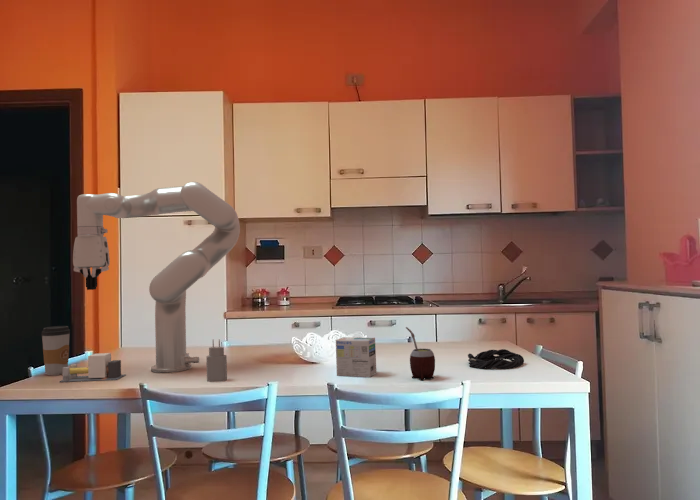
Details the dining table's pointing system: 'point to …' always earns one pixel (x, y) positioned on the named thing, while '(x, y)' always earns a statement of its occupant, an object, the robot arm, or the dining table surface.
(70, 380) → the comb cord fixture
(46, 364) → the coffee cup
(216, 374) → the power adapter
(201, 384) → the dining table surface
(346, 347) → the light bulb box
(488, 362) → the cable
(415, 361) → the mate gourd
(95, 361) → the marker sleeve
